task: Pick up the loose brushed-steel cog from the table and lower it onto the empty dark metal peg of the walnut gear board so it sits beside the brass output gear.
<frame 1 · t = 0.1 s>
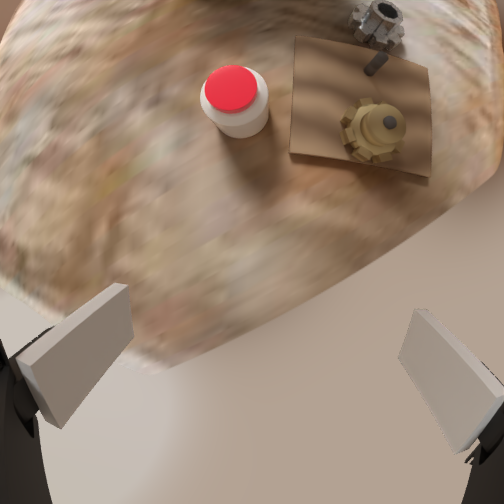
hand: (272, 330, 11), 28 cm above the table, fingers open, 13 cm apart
steel gear: (373, 30, 29), on the table
gear board: (366, 103, 33), on the table
pill bottle: (241, 113, 35), on the table
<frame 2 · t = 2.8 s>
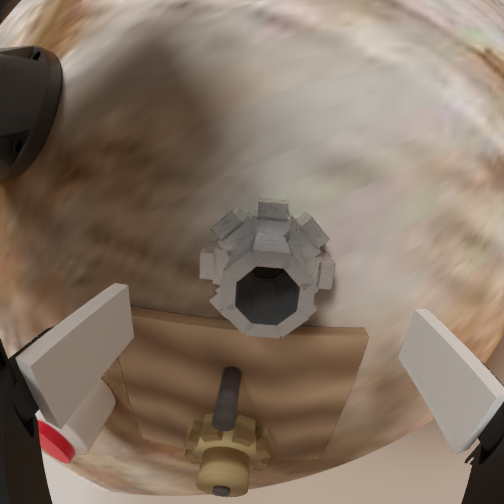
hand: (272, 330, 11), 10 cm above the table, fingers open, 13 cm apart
steel gear: (267, 258, 20), on the table
gear board: (232, 399, 24), on the table
pill bottle: (90, 388, 26), on the table
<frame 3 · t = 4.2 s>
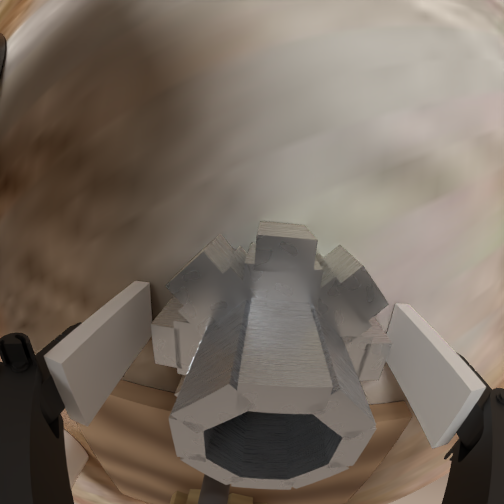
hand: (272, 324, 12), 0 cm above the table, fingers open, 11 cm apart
steel gear: (272, 321, 12), on the table
gear board: (223, 474, 16), on the table
pill bottle: (59, 436, 18), on the table
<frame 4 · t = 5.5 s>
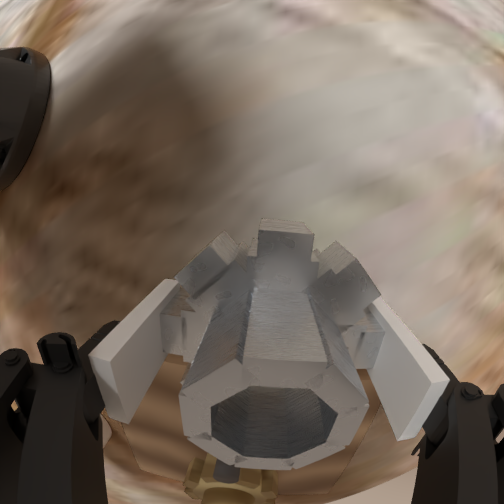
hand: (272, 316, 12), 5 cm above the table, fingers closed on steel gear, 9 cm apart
steel gear: (272, 313, 13), point 4 cm above the table, touching gripper
gear board: (236, 438, 20), on the table
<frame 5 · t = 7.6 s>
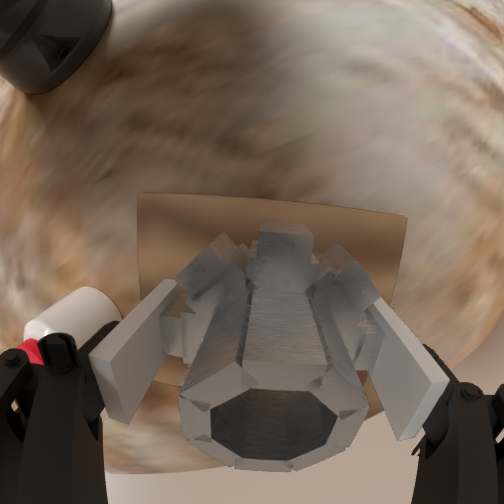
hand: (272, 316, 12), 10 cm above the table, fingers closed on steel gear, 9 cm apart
steel gear: (272, 314, 13), point 10 cm above the table, touching gripper
gear board: (264, 309, 24), on the table
pill bottle: (96, 318, 26), on the table
when the fingers open (3 cm above the table, at t = 9.9 s): steel gear drops 2 cm, resting on gear board.
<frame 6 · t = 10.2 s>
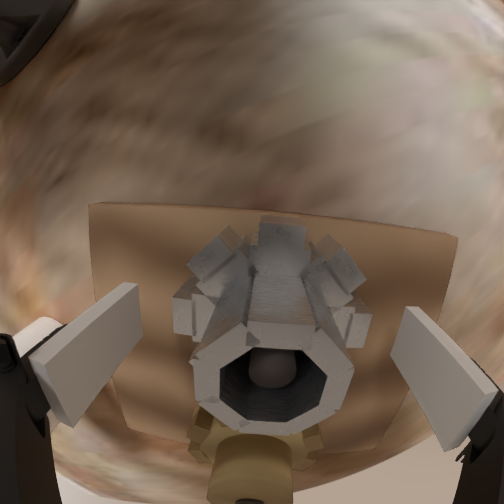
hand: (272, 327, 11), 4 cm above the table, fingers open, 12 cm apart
steel gear: (271, 299, 14), point 1 cm above the table, touching gear board
gear board: (263, 358, 17), on the table
pill bottle: (61, 352, 19), on the table
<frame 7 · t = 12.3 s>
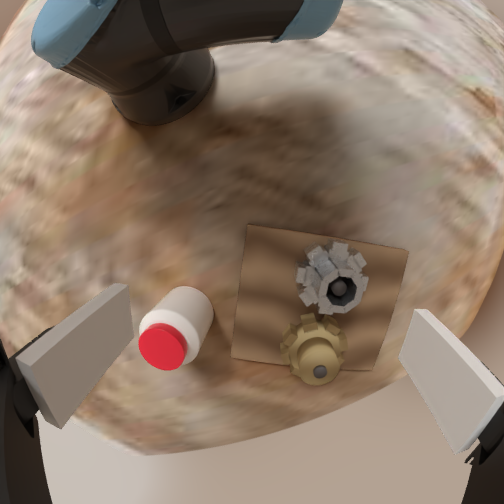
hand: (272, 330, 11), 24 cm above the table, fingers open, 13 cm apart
steel gear: (328, 272, 34), point 1 cm above the table, touching gear board
gear board: (318, 304, 36), on the table
pill bottle: (188, 310, 38), on the table
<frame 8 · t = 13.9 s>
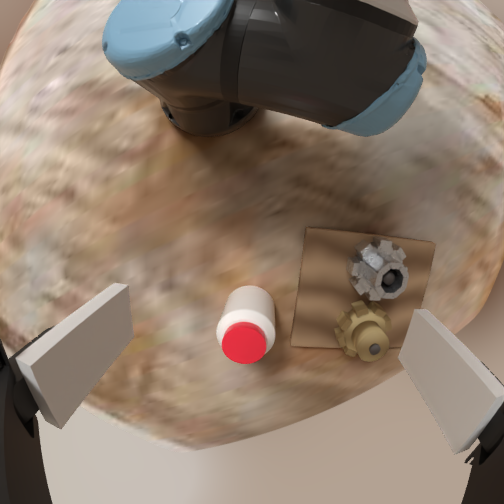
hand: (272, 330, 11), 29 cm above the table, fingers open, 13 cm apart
steel gear: (373, 265, 38), point 1 cm above the table, touching gear board
gear board: (364, 292, 40), on the table
pill bottle: (250, 307, 42), on the table
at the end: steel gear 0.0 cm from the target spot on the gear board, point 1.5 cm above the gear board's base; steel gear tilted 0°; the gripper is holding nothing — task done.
